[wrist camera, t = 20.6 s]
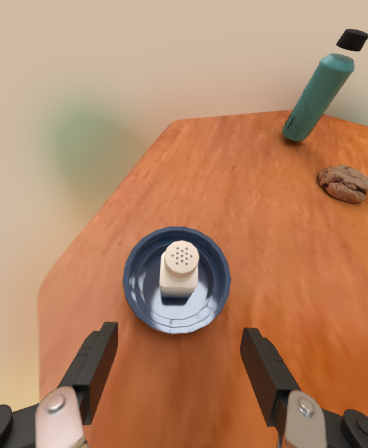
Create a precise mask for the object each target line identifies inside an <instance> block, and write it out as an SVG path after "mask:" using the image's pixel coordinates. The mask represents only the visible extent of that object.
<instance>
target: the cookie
mask: <svg viewBox="0 0 368 448" xmlns="http://www.w3.org/2000/svg"><path fill="white" fill-rule="evenodd" d="M318 178H319V181H320V182H319V183H320V186H323V187H324V189H325V190H326V191H327V192H328V193H329V194H330V195H331V196H332V197H335V198H337V199H339V200H343V201H346V202H350V203H358V202H361V201H364V200H366V194H367V193H368V178H367V177H366V176H365V175H364V174H363V173H361V172H360V171H357V170H356V169H354V168H352V167H349V166H347V167H346V166H345V165H339V166H336V167H332V166H329V167H327V168H324V169H322V170H321V171H320V173H319V177H318Z"/></svg>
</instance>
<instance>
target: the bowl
mask: <svg viewBox="0 0 368 448" xmlns="http://www.w3.org/2000/svg"><path fill="white" fill-rule="evenodd" d="M177 241H186V242H189V243H191V244H192V245H193V246H194V247H195V248H196V249H197V251H198V254H199V261H198V284H197V287H196V288H195V290H194V292H193V293H192V295H191V296H190V297H189V298H164V297H162V296H161V293H160V282H159V281H160V267H161V256H162V254H163V253H164V252H166V249H167V247H168V246H169V245H171V244H172V243H173V242H177ZM230 283H231V277H230V271H229V266H228V262H227V260H226V258H225V256H224V254H223V252H222V250H221V249H220V248H219V247H218V246H217V244H216V243H215V242H214V241H213V240H212V239H210V238H209V237H208V236H206V235H204V234H203V233H201V232H200V231H198V230H194V229H191V228H187V227H166V228H162V229H159V230H155V231H154V232H152V233H150V234H149V235H147V236H145V237H144V238H142V239H141V240H140V241H139V242H138V244H137V245H136V246H135V247H134V248H133V249H132V251H131V253H130V255H129V257H128V259H127V261H126V263H125V268H124V275H123V286H124V291H125V296H126V300H127V302H128V303H129V305H130V307H131V308H132V310H133V312H134V313H135V315H136V316H137V317H138V318H139V319H141V320H142V321H143V322H144V323H146V324H147V325H148V326H149V327H150V328H152V329H153V330H156V331H159V332H162V333H165V334H168V335H177V334H188V333H191V332H194V331H196V330H198V329H201V328H203V327H205V326H207V325H208V324H210V323H211V322H212V321H213V320H214V319H215V318H216V317H217V316H218V315H219V314H220V313H221V311H222V309H223V307H224V305H225V303H226V301H227V299H228V297H229V291H230Z"/></svg>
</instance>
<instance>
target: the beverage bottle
mask: <svg viewBox="0 0 368 448" xmlns="http://www.w3.org/2000/svg"><path fill="white" fill-rule="evenodd" d="M367 38H368V34H367V33H365V32H362V31H359V30H354V29H346V30H345V32H344V33H343V35H342V36H341V38H340V39H339V40H338V42H337V44H336V45H337V46H339V47H341V48H343V49H346V50H350V51H360V50H361V49H362V47H363V45H364V43H365V41H366V40H367ZM353 71H354V60H353V59H351V58H350V57H347V56H344V55H341V54H330V55H328V56H326V57H324V58H323V59H322V60H321V61H320V62H319V65H318V67H317V69H316V70H315V72H314V74H313V76H312V78H311V79H310V81H309V83H308V84H307V86H306V88H305V90H304V91H303V93H302V95H301V97H300V99H299V100H298V102H297V104H296V106H295V108H294V109H293V111H292V113H291V115H290V117H289V118H288V120H287V121H286V122H285V123H286V124H284V125H285V126H283V130H282V133H283V135H284V136H285V137H287V138H288V139H291V140H293V141H303V140H305V139H306V138H307V137H308V136H309V134H310V132H311V131H312V129H313V128H314V126H316V123H317V122H318V121H319V120H320V118H321V116H322V115H324V114H323V113H324V112H325V110H326V109H327V108H328V106H329V104H330V103H331V102H332V100H333V99H334V97H335V96H336V94H337V93H338V92H339V90H340V89H341V87H342V86H343V84H344V83H345V82H346V80H347V79H348V77H349V76H350V74H351V73H352V72H353Z"/></svg>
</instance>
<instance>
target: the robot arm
mask: <svg viewBox="0 0 368 448" xmlns="http://www.w3.org/2000/svg"><path fill="white" fill-rule="evenodd" d="M117 347H118V322H104V324H103V326H102V328H101V330H100V331H93V332H92V333H91V334H90V335H89V336H88V337H87V338H86V339H85V341H84V343H83V344H82V346H81V349H80V350H79V351H78V353H77V356H76V357H75V358H74V360H73V362H72V363H71V365H70V367H69V369H68V370H67V372H66V374H65V375H64V377H63V379H62V381H61V382H60V384H59V386H58V387H57V388H56V389H55V390H53V391H52V392H50V393H49V394H48V395H47V396H45V398H44V399H43V400H42V401H41V402H40V403H38V404H36V405H33V406H30V407H27V408H24V409H21V410H18V411H15V412H12V410H11V408H10V406H8V405H0V448H89V445H88V442H87V441H86V439H85V435H84V430H83V426H84V425H91V423H92V421H93V418H94V415H95V412H96V409H97V406H98V403H99V401H100V398H101V395H102V392H103V389H104V386H105V384H106V381H107V378H108V375H109V372H110V369H111V367H112V364H113V361H114V358H115V355H116V352H117ZM240 353H241V358H242V361H243V363H244V366H245V369H246V371H247V374H248V377H249V379H250V382H251V385H252V387H253V390H254V393H255V395H256V398H257V401H258V403H259V406H260V408H261V411H262V414H263V416H264V419H265V422H266V424H267V427H276V429H277V431H278V438H277V445H276V448H368V417H367V416H365V415H364V414H362V413H360V412H358V411H356V410H352V409H348V410H346V411H345V412H344V415H343V416H340V415H338V414H335V413H332V412H330V411H327V410H324V409H322V408H321V407H320V406H319V405H318V403H317V402H316V401H315V400H314V399H313V398H312V397H310V396H309V395H308V394H306V393H304V392H302V391H301V389H300V387H299V386H298V384H297V382H296V381H295V379H294V377H293V376H292V374H291V373H290V371H289V369H288V368H287V366H286V364H285V363H284V362H283V359H282V358H281V356H280V355H279V353H278V351H277V350H276V348H275V346H274V345H273V344H272V343H271V342H270V341H269V340H268V339H267V338H263V337H262V336H261V334H260V332H259V330H258V329H257V328H244V330H243V335H242V341H241V346H240Z"/></svg>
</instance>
